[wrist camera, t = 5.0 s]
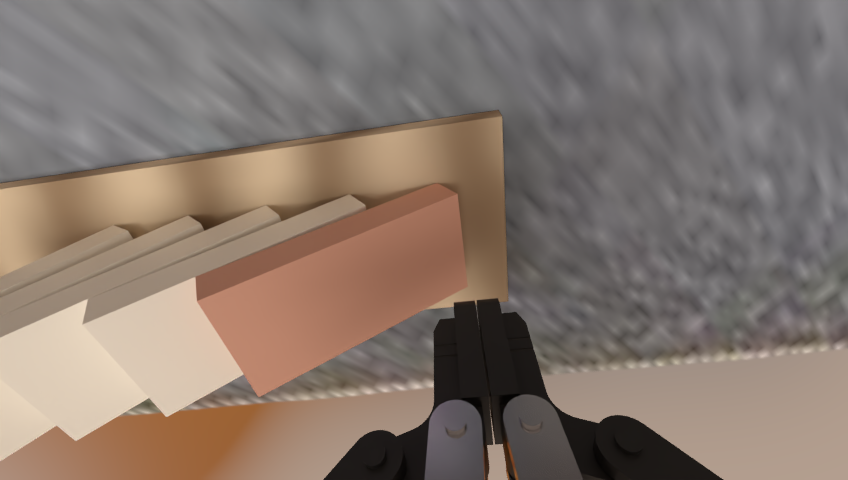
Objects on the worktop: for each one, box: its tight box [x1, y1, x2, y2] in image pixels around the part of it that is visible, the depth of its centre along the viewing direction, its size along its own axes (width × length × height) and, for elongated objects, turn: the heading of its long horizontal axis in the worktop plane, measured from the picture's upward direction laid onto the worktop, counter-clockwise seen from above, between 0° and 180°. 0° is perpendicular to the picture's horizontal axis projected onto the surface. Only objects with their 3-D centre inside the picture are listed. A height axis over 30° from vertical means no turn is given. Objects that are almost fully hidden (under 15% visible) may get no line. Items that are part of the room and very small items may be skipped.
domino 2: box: [0, 216, 204, 461], centre depth 15 cm, size 2×5×10 cm
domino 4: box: [82, 194, 366, 417], centre depth 15 cm, size 2×5×10 cm
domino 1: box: [0, 225, 133, 298], centre depth 15 cm, size 2×5×10 cm
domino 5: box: [195, 183, 468, 397], centre depth 15 cm, size 2×5×10 cm
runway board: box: [0, 110, 508, 310], centre depth 19 cm, size 28×10×1 cm, turn 98°
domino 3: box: [0, 205, 282, 441], centre depth 15 cm, size 2×5×10 cm
